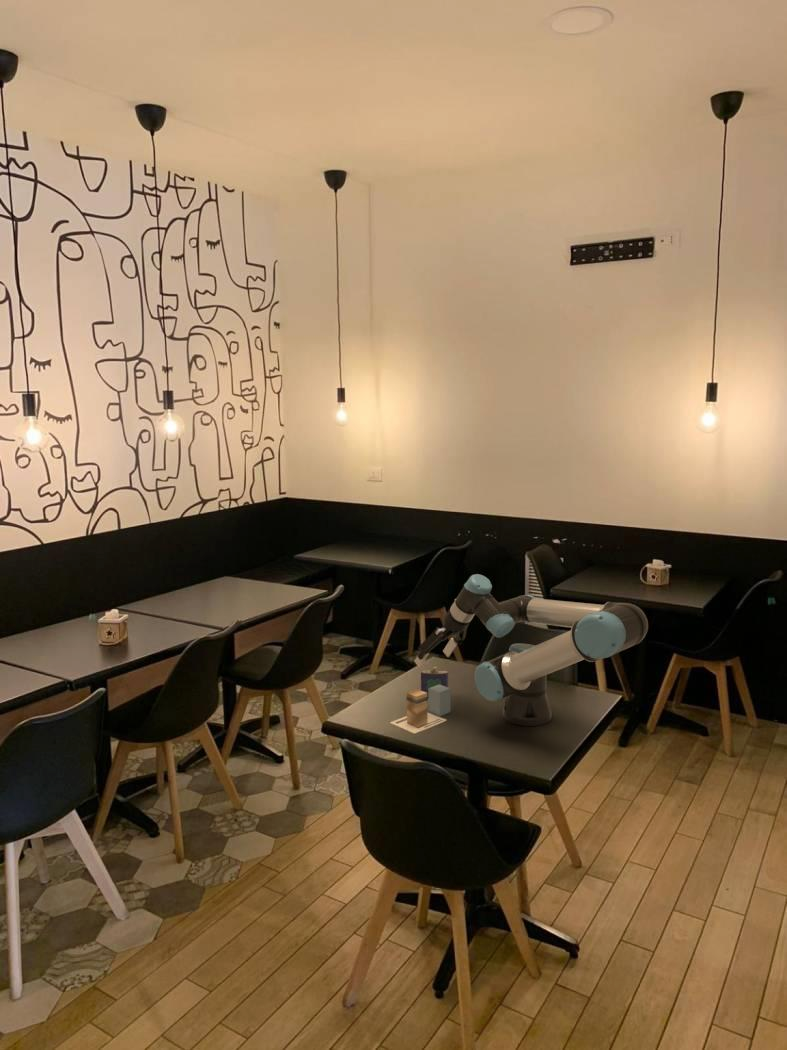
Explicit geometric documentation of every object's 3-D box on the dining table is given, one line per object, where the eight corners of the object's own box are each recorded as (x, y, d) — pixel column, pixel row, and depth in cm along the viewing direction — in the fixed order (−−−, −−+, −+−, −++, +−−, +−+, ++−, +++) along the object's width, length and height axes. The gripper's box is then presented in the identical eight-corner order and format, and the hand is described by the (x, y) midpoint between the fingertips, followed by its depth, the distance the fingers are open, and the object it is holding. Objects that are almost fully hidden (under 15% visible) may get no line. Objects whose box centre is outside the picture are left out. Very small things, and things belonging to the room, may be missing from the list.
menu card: (446, 720, 247) (446, 719, 247) (414, 734, 238) (414, 733, 238) (421, 711, 255) (421, 710, 255) (390, 723, 246) (390, 722, 246)
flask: (448, 695, 268) (448, 665, 266) (448, 698, 265) (448, 668, 263) (421, 695, 268) (420, 665, 267) (420, 698, 265) (420, 668, 264)
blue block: (450, 712, 254) (450, 688, 253) (439, 716, 251) (439, 692, 249) (439, 707, 258) (439, 684, 256) (428, 712, 254) (428, 688, 253)
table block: (427, 723, 244) (427, 692, 243) (417, 727, 241) (416, 696, 240) (417, 719, 248) (417, 688, 246) (406, 723, 245) (406, 692, 243)
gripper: (478, 598, 257) (450, 641, 269) (425, 614, 241) (398, 659, 252) (492, 615, 254) (464, 658, 266) (440, 632, 237) (411, 677, 249)
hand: (431, 658), depth 259 cm, fingers open, 13 cm apart
